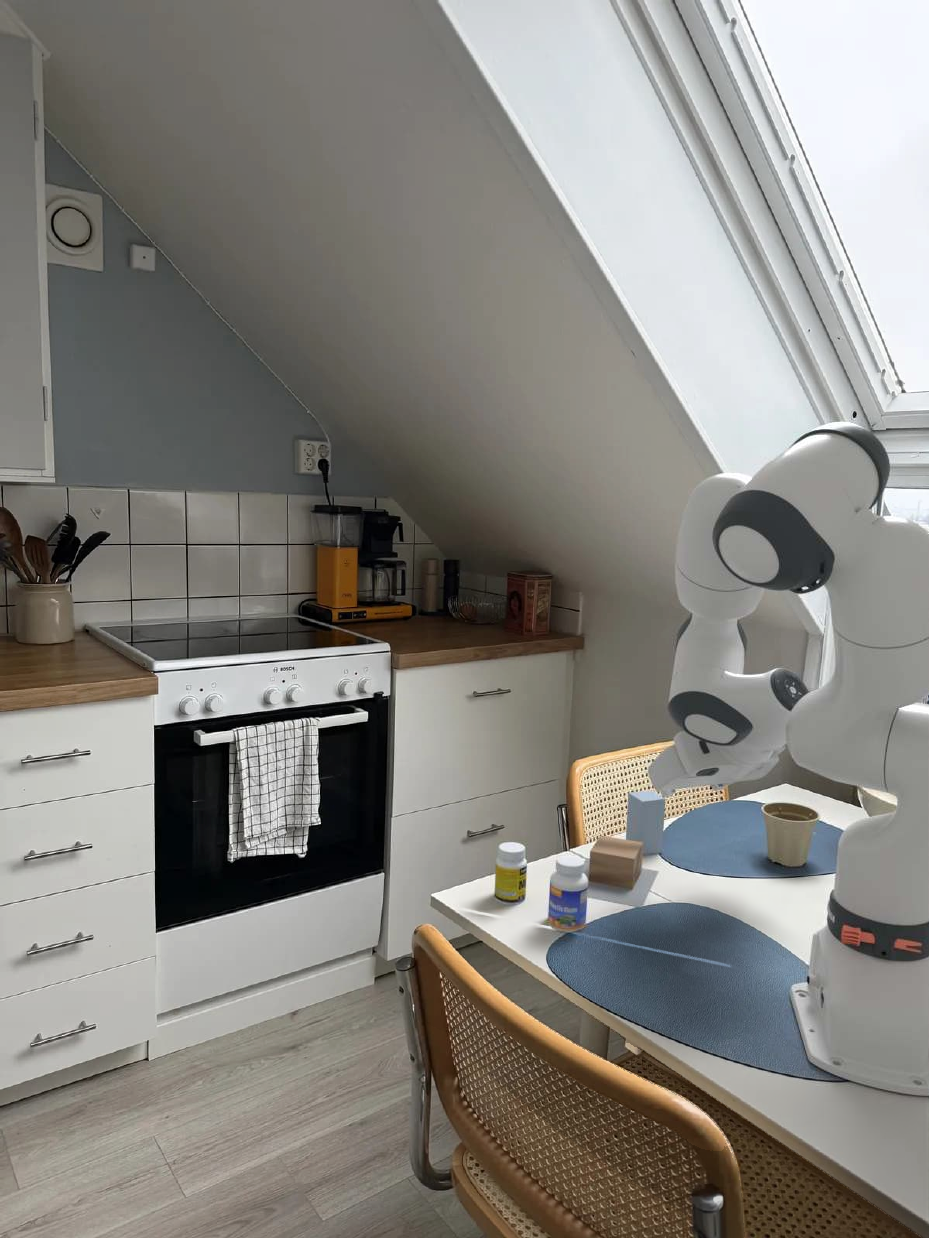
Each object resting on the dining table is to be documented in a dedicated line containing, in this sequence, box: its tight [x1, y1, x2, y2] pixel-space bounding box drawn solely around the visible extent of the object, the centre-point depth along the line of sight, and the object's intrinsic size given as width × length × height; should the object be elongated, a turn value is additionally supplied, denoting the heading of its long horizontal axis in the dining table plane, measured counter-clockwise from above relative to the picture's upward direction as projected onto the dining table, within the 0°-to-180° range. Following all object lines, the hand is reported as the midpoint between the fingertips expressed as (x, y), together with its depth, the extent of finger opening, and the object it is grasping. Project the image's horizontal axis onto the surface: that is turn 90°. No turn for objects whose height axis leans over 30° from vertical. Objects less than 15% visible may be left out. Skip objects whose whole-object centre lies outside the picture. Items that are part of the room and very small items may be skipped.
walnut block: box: [589, 835, 644, 889], centre depth 148 cm, size 7×7×5 cm
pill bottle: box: [547, 854, 588, 934], centre depth 132 cm, size 5×5×10 cm
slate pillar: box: [625, 789, 666, 856], centre depth 158 cm, size 4×4×10 cm
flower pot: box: [760, 801, 821, 867], centre depth 157 cm, size 9×9×9 cm
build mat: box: [583, 857, 659, 909], centre depth 146 cm, size 14×12×1 cm
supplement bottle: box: [493, 841, 528, 906], centre depth 139 cm, size 5×5×8 cm
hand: (690, 789), depth 146 cm, fingers open, 8 cm apart
